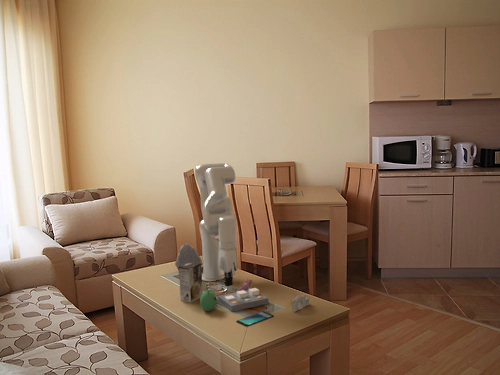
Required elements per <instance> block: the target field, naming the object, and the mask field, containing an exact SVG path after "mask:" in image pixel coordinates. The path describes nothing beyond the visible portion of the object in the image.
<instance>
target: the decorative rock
mask: <svg viewBox="0 0 500 375" xmlns="http://www.w3.org/2000/svg"><path fill="white" fill-rule="evenodd" d="M176 256H177V257H176V260H175V263H174V264H175V267H176V268H177V270H178V271H179V266H182V265H184V264H186V263H188V262H197V263H201V267H203V259H202V258H201V256H200V255H199V252H198V251H197V250H196V249H195V247H194V246H192V245H190V244H189V243H184V244H182V245H181V246H180V247H179V251H178V254H177V255H176Z"/></svg>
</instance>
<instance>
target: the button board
mask: <svg viewBox="0 0 500 375" xmlns="http://www.w3.org/2000/svg"><path fill="white" fill-rule="evenodd" d="M246 292H247V297H246V298H241V299H240V298H238V297H237V293H236V292H232V293H231V292H230V293H227V294H220V295H217V297H218V298H217V299H218V303H220V304H221V305H222V306H223V307H225V308H226V309H227V310H228V311H229V312H235V311H241V310H246V309H250V308H253V307H258V306H262V305H267V304H269V302H270V301H269V297H267V296H266V295H264V293H263V294H262V292H259V295H255V296H251V295H249V293H248V289H247V290H246ZM230 295H232V296H234V297H235V300H231V301H226V300H225V299H224V297H225V296H230Z"/></svg>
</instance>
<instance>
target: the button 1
mask: <svg viewBox="0 0 500 375" xmlns="http://www.w3.org/2000/svg"><path fill="white" fill-rule="evenodd" d="M224 299H225V300H226V301H231V300H235V297H234V296H232V295H230V296H225V297H224Z"/></svg>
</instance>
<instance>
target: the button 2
mask: <svg viewBox="0 0 500 375" xmlns="http://www.w3.org/2000/svg"><path fill="white" fill-rule="evenodd" d="M247 290H248V293H249V295H251V296H255V295H259V293H260V290H259V289H258V288H256V287H253V288H249V289H247Z"/></svg>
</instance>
